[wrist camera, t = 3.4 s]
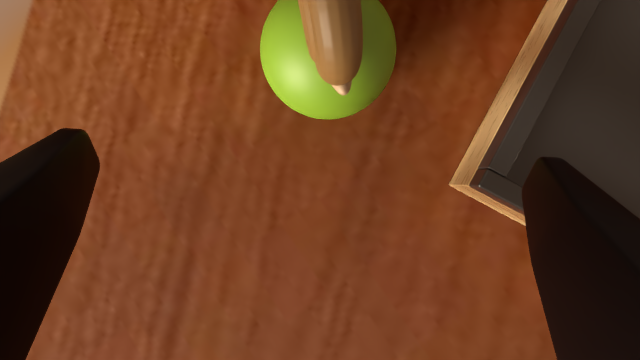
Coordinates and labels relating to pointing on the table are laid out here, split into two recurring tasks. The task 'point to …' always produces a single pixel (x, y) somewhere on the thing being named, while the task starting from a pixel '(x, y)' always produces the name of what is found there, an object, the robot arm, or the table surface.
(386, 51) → the green two-tone figurine
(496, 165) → the square tray
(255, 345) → the table surface
